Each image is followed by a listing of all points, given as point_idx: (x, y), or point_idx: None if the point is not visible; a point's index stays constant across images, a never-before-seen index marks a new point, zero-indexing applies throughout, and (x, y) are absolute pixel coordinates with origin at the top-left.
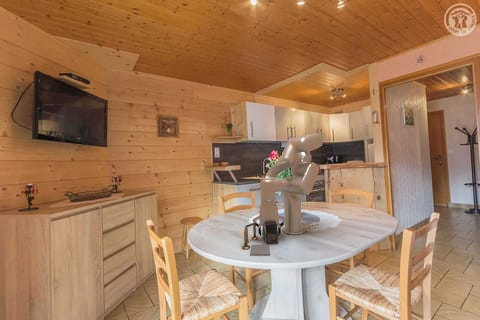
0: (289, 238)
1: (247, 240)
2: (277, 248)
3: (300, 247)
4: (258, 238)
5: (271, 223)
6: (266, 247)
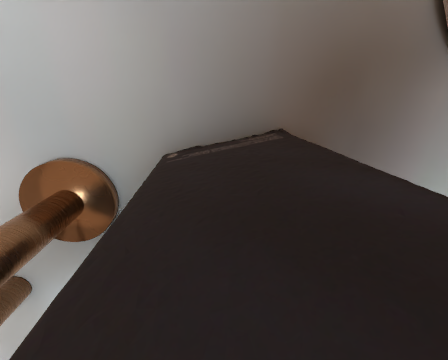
0: (424, 185)
1: (9, 314)
2: None
3: None
4: (116, 209)
5: None
6: None
